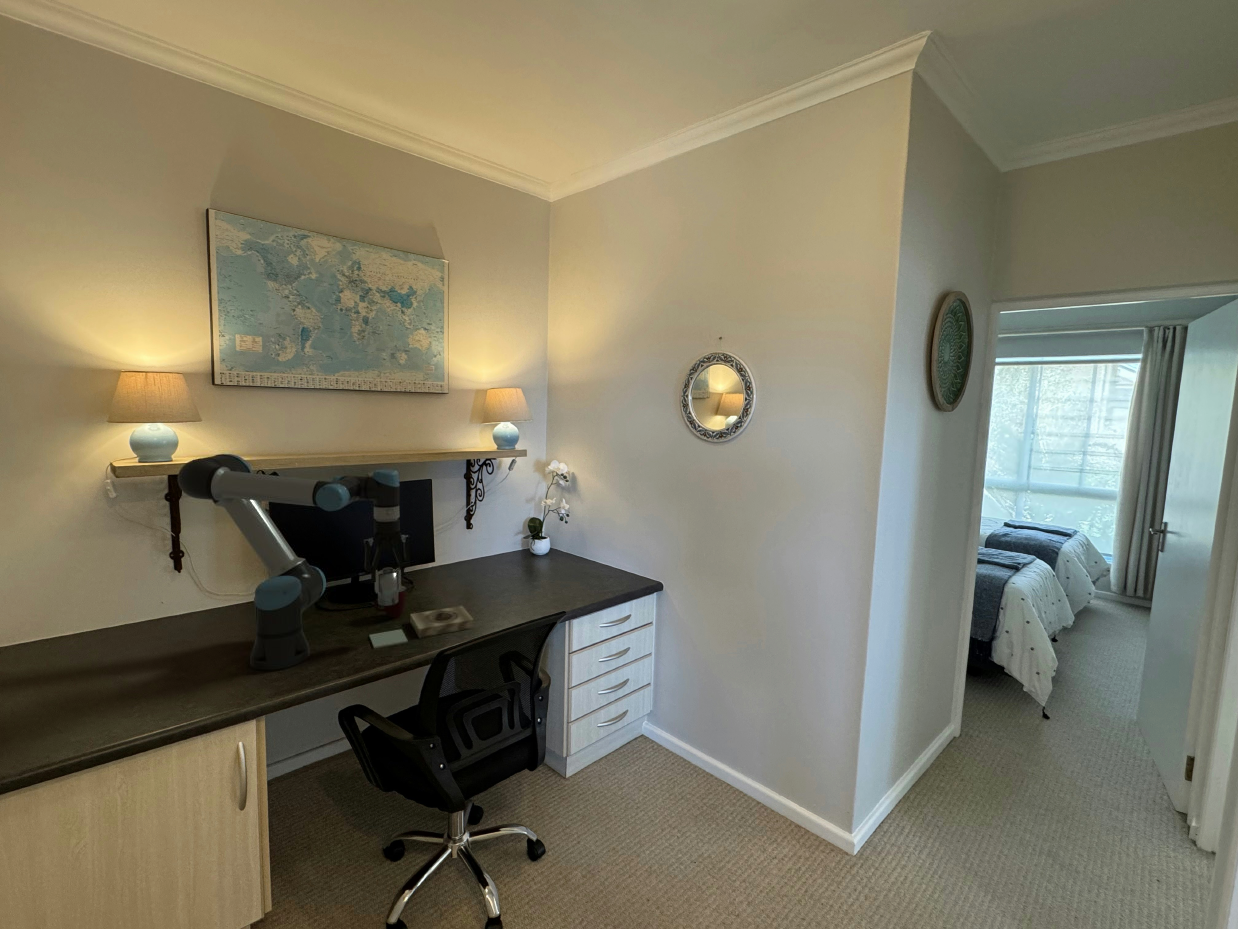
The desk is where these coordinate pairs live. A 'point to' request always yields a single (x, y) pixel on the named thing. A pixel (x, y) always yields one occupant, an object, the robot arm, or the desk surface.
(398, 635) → the mat
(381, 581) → the gray knobbed peg
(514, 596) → the desk surface
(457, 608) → the housing
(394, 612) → the mug
